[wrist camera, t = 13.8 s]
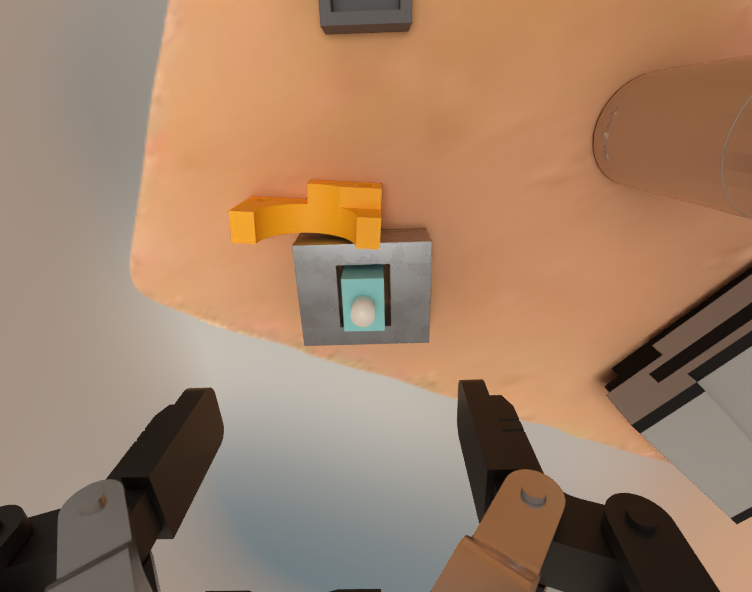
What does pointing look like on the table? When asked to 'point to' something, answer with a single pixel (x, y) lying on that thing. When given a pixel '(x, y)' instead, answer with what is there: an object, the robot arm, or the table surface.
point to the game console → (699, 395)
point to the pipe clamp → (313, 214)
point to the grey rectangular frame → (365, 16)
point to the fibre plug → (363, 297)
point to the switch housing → (397, 248)
